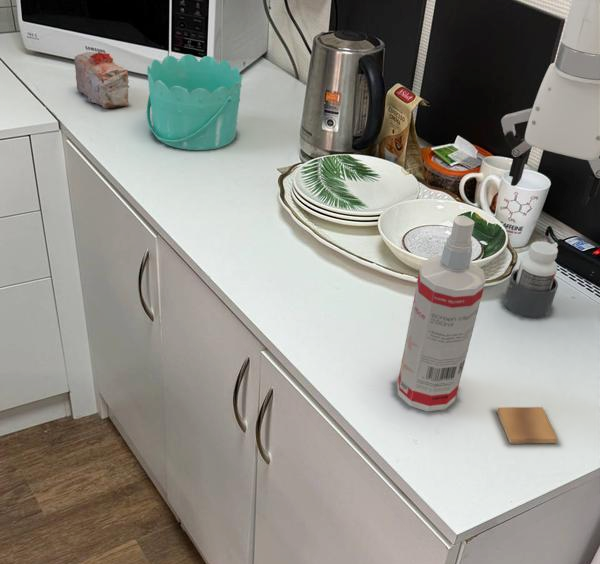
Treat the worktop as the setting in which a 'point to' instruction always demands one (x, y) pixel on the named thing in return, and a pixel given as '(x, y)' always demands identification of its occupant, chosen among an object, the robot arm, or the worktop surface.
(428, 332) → the spray bottle
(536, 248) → the pill bottle
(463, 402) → the worktop surface
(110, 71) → the food item
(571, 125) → the robot arm
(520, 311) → the tin
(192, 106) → the basket
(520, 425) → the brown wooden square tile
